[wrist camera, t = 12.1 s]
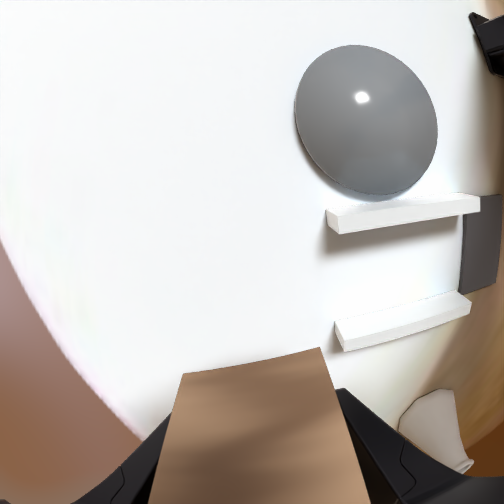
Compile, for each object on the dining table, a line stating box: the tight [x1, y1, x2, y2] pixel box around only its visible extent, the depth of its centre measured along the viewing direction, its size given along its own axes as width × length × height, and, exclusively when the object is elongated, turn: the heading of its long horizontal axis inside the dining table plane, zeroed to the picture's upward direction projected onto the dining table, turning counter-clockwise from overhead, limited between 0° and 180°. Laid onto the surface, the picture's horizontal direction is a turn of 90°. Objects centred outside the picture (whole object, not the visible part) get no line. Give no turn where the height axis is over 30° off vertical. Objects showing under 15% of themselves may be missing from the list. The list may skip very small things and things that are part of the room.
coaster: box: [295, 45, 438, 195], centre depth 15 cm, size 10×10×1 cm
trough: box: [326, 192, 480, 352], centre depth 17 cm, size 11×9×2 cm
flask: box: [398, 389, 474, 474], centre depth 18 cm, size 7×7×10 cm
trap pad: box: [458, 195, 502, 295], centre depth 17 cm, size 5×8×1 cm, turn 10°
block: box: [148, 347, 371, 504], centre depth 7 cm, size 5×5×6 cm
